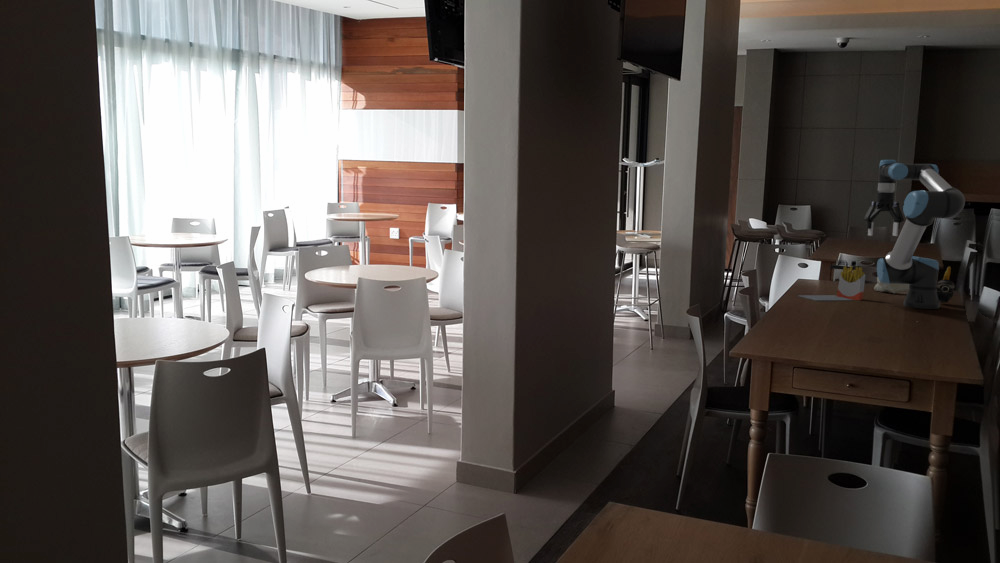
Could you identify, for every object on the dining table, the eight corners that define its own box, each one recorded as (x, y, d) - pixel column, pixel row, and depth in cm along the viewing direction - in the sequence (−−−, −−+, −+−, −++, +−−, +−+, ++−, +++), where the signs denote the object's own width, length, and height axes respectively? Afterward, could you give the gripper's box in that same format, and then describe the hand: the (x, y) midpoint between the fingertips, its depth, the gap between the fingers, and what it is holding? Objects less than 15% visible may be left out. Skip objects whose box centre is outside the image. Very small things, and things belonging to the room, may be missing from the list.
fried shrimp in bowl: (948, 301, 404) (952, 264, 402) (959, 304, 393) (962, 266, 391) (929, 300, 405) (932, 263, 402) (938, 304, 394) (942, 266, 391)
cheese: (865, 282, 431) (890, 266, 423) (868, 280, 437) (894, 264, 429) (883, 307, 428) (910, 291, 419) (887, 305, 434) (913, 289, 425)
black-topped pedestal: (808, 282, 472) (810, 258, 470) (833, 279, 489) (834, 256, 487) (856, 288, 451) (858, 263, 449) (879, 285, 467) (881, 261, 465)
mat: (853, 300, 399) (853, 299, 399) (816, 301, 395) (816, 300, 395) (834, 295, 414) (834, 295, 414) (798, 296, 411) (798, 295, 411)
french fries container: (857, 305, 401) (862, 268, 399) (835, 301, 409) (840, 265, 407) (861, 304, 404) (866, 268, 402) (840, 301, 412) (844, 265, 410)
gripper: (903, 192, 411) (900, 235, 413) (858, 191, 406) (855, 234, 409) (913, 192, 404) (910, 236, 406) (867, 191, 399) (864, 235, 401)
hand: (882, 235), depth 407 cm, fingers open, 13 cm apart
